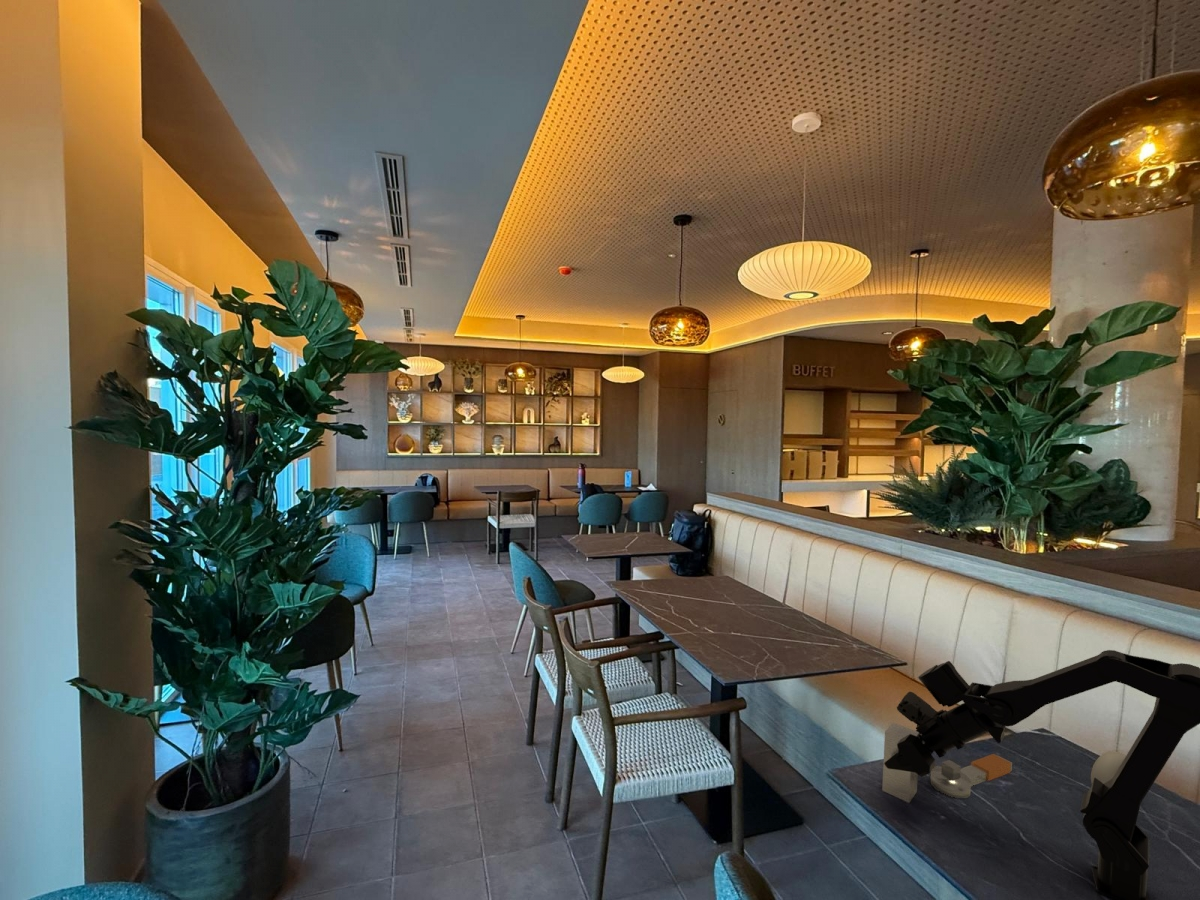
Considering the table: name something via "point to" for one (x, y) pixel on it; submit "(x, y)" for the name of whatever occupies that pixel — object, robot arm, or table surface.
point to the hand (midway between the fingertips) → (893, 756)
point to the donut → (1107, 766)
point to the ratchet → (967, 775)
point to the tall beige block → (898, 780)
